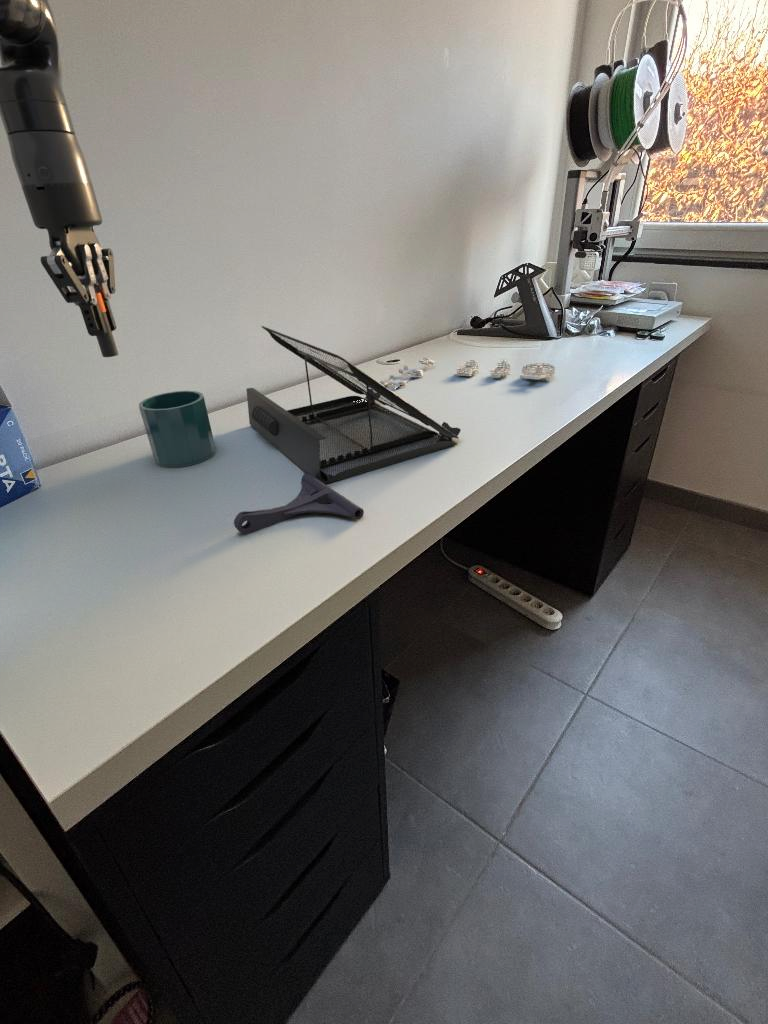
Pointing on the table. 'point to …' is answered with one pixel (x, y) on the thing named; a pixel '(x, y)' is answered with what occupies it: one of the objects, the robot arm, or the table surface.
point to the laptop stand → (306, 440)
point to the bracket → (300, 507)
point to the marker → (106, 340)
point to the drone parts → (470, 369)
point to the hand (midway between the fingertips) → (103, 332)
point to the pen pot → (178, 428)
